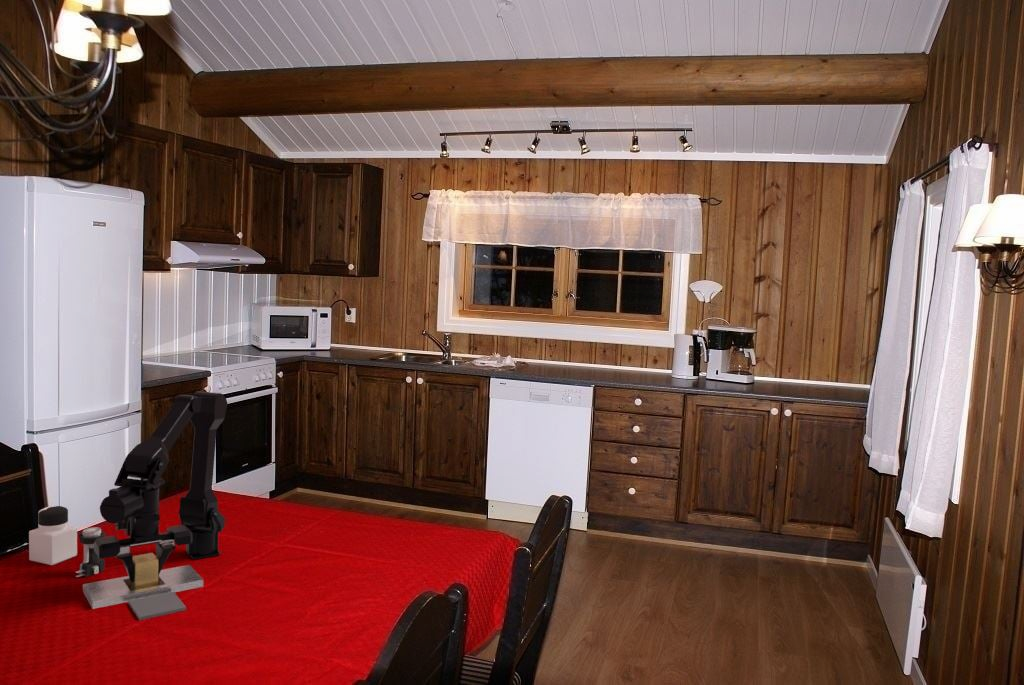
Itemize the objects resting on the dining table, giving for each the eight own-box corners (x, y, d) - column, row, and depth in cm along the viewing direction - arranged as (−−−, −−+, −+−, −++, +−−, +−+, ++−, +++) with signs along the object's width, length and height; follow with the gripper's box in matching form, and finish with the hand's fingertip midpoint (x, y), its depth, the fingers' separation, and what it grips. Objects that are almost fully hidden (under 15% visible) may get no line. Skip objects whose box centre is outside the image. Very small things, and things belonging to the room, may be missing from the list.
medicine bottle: (77, 555, 192) (77, 506, 191) (51, 565, 186) (51, 514, 184) (54, 550, 195) (54, 502, 193) (28, 560, 188) (28, 510, 187)
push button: (84, 581, 178) (84, 537, 177) (67, 576, 180) (67, 533, 179) (110, 571, 184) (110, 528, 183) (93, 566, 186) (93, 524, 185)
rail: (189, 571, 186) (189, 564, 186) (203, 586, 179) (203, 579, 178) (82, 591, 173) (82, 584, 173) (92, 608, 165) (92, 601, 165)
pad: (173, 594, 174) (173, 591, 174) (186, 610, 167) (186, 607, 167) (128, 603, 168) (128, 600, 168) (139, 620, 161) (139, 617, 161)
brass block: (152, 583, 179) (152, 552, 178) (158, 590, 175) (158, 559, 175) (130, 587, 176) (130, 556, 175) (135, 595, 173) (135, 563, 172)
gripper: (178, 493, 186) (178, 559, 188) (88, 505, 175) (88, 575, 176) (193, 506, 177) (192, 575, 179) (99, 520, 166) (99, 593, 167)
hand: (144, 579), depth 176 cm, fingers closed on brass block, 5 cm apart
